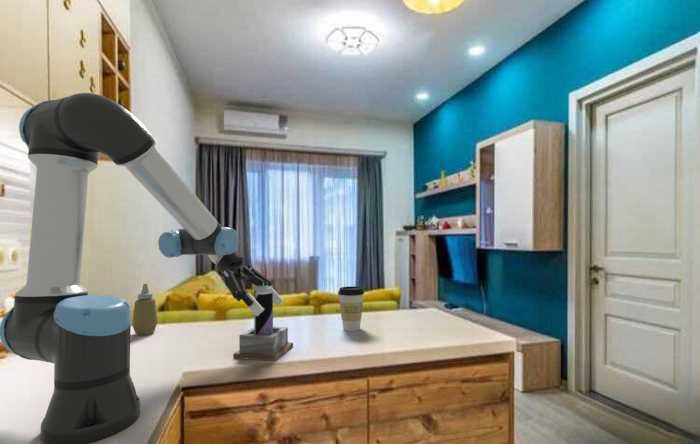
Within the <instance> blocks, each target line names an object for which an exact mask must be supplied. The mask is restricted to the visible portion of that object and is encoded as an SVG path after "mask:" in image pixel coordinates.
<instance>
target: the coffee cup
mask: <svg viewBox="0 0 700 444" xmlns="http://www.w3.org/2000/svg"><path fill="white" fill-rule="evenodd" d="M337 294H338V296H339V297H338V298H339V301H338V302H339V308H340V315H341V316H340V317H341V320H342V321H341V322H342V328H343V329H342V330H343V331H346V332H357V331H359V330H360V329H361V321H362V314H363V306H364V305H363V304H364V294H365V291H364V289H363V287H362V286H355V285H354V286H342V287H340V288H339V289H338V291H337Z"/></svg>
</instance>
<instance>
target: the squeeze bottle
mask: <svg viewBox="0 0 700 444" xmlns="http://www.w3.org/2000/svg"><path fill="white" fill-rule="evenodd" d="M133 307H134V308H133V316H132V321H131V325H132V328H133V332H134V333H135V335H136V336H145V335H150V334H153V333H154V332H155V330H156V328H157V325H158V312H157V311H158V310H157V305H156V299H154V298H153V293H152V292H150V289H149V286H148V283H143V284H142V289H141V293H138V294H137V300H136V301H134V305H133Z"/></svg>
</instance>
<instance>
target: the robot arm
mask: <svg viewBox="0 0 700 444" xmlns="http://www.w3.org/2000/svg"><path fill="white" fill-rule="evenodd" d="M18 132H19V135H20V138H21V140H22V142H23V143H24V144H25V145H26V147H27V149H28V154H27V159H28V160H29V161H30V162H31V163H32V164H33V165H34V166H35V167H36V175H35V176H36V177H35V187H34V196H33V197H34V198H33V207H32V208H33V209H32V219H31V232H30V239H29V240H30V242H29V252H28V253H29V254H28V262H27V263H28V264H27V274H26V283H25V284H24V286H22V288H20V289H19V290H18V291H17V292H15V295H14V299H13V300H14V301H13V307H11V309H10V310H9V311H8V312H6V313H5V315H4V316H3V317H2V320H1V321H0V341H1V344H2V345H3V347H4V348H5V349H6V350H7V351H9V352H10V353H11V354H14V355H15V356H17V357H20V358H22V359H25V360H30V361H38V362H39V361H40V362H45V363H51V364H53V365H54V366H53V367H54V370H53V372H54V373H53V379H54V381H53V391H52V392H53V393H52V396H51V398H50V401H49V404H48V406H47V410H46V413H45V416H44V418H43V419H42V422H41V425H40V437H39V438H40V442H41V443H42V444H88V443H91V442H95V441H99V440H102V439H104V438H107V437H110V436H112V435H114V434H116V433H118V432H121V431H123V430H124V429H126V428H127V427H129V426H131V425H132V424H133V423H134V422H135V421H136V420H137V419H138V418H139V416H140V414H141V401H140V397H139V396H138V394H137V391H136V388H135V386H134V382H133V379H132V377H131V370H130V369H131V325H132V316H131V306H130V303H129V302H128V301H127V300H126V299H124V298H122V297H119V296H115V295H110V294H109V295H108V294H107V295H105V294H104V295H99V294H89V290H88V289H87V288H86V287H85V286H84V285H82V284H81V276H82V275H81V272H82V261H83V260H82V259H83V247H84V232H85V221H86V210H87V209H86V208H87V207H86V206H87V195H88V194H87V193H88V180H89V174H90V173H91V172H93V171H94V170H95V169H97V168H98V164H99V163H98V162H99V153H101V154H104V155H105V156H107V157H108V158H109V159H110V160H111V161H112V162H113V163H114V164H115V165H116V166H121V167H125V169H127V170H128V172H130V174H132V176H133V177H134V178H135V179H136V180H137V181H138V182H139V183H140V184H141V185H142V186H143V187H144V188H145V190H147V191H148V192H149V193H150V195H151V196H152V197H153V198H154V199H155V200H156V201H157V202H158V203H159V204H160V205H161V206H162V207H163V208H164V209H165V210H166V212H168V213H169V215H170V216H171V217H173V219H174V220H175V221H176V222H178V223H177V224H179V225H180V226H181V228H180V229H179V228H178V229H171V230H168V231H164V232H162V233H161V234H160V236H159V237H158V241H157V242H158V243H157V244H158V250H159V251H160V253H161V254H162V255H163V256H164V257H166V258H169V259H172V258H175V257H176V258H178V257H180V256H207V257H208V258H209V259H210V260H211V262H212V263H213V264H215V265H216V266H217V268H218V269H219V271H220V272H221V276H222V277H223V278H224V280H225V282H226V284H227V286H228V288H229V290H230V293H231V295H232V297H233V299H235V300H236V301H237V302H241V301H243V303H244V304H245V305H246V306H247V307H248V309H250V311H251V312H252V313H253V315H254V314H255V315H256V316H258V315H259V314H260V313H261V312H262V311H263V310H264V309H263V307H262V306H261V305H260V304H259V303H258V302H257V301H256V300H255V298H254V295H252V294H251V293H250V292H248V291H247V289H246V284H245V282H246V283H251V284H252V285H255V286H256V287H259V285H260V281H266V284H267V285H268V286H269V287H270V288H272V291H273V304H274V305H275V306H276V307H279V306H280V305H282V303H283V302H284V299H283V298H282V296H280V294H279V293H278V292H277V291H276V290H275V289H274V288H273V286H272V285H273V283H274V282H272V281H271V280H270V279H269V278H267V277H266V276H264V275H263V274H262V273H260V271H258V270H256V269H255V268H254V267H253V266H252V265H251V264H248V265H246V266H245V264H243V263H244V257H243V256H242V255H241V253H239V251H238V250H237V249H238V247H239V242H240V241H239V240H240V239H239V235H238V232H237V231H236V230H235V229H234V228H231V227H226V226H224V227H223V226H222V225H221V224H220V223H219V222H218V221H217V219H216V218H215V217H214V215H213V214H212V213H211V212H210V211H209V209H208V208H207V207H206V206H205V205H204V204H203V201H201V200H200V198H199V197H198V196H197V195H196V194H195V193H194V191H193V190H192V188H190V186H189V185H188V184H187V183H186V182H185V180H184V179H183V178H182V177H181V176H180V174H179V173H178V171H176V170H175V168H174V167H173V165H171V163H170V162H169V161H168V160H167V158H166V157H165V156H164V155H163V154H162V153H161V151H160V150H159V149H158V148H157V146H156V143H157V140H156V138H155V136H153V134H152V133H151V132H150V131H149V130H148V128H147V127H146V126H145V125H144V124H143V123H142V122H141V121H140V120H139V119H138V118H137V117H136V116H135V115H133V114H132V113H131V112H130V111H129V110H128V109H126V108H125V107H124V106H122V104H119V103H118V102H116V101H115V100H113V99H110V98H108V97H107V96H104V95H101V94H97V93H93V92H80V93H75V94H72V95H69V96H66V97H62V98H57V99H51V100H44V101H41V102H39V103H37V104H35V105H34V106H32V107H30V108H28V109H27V110H25V112H24V113H23V115H22V116H21V118H20V121H19V125H18ZM88 294H89V295H88Z"/></svg>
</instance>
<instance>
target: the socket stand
mask: <svg viewBox="0 0 700 444" xmlns="http://www.w3.org/2000/svg"><path fill="white" fill-rule="evenodd" d="M288 335H289V334H288V327H287V326H285V327H283V326H273V334H272V335H256V334H254V327H252V328H250V329H247V331H245V332H243V333H240V334H239V335H238V336H239V340H238V341H239V344H238V345H239V346H238V347H239V350H237V351H235V352H234V353H233V355H232V356H233V357H234V358H233V357H232V358H233V359H241V358H248V359H247V360H255V359H260V360H259V361H269V360H270V362H271V361H272V362H276V361H277V360H278V359H279V358H281V357H282V356H283V355H284V354H286V353H288V351H290V350H291V349H292V348H293V347H294V342H288V341H289V340H288V338H289V336H288Z"/></svg>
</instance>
